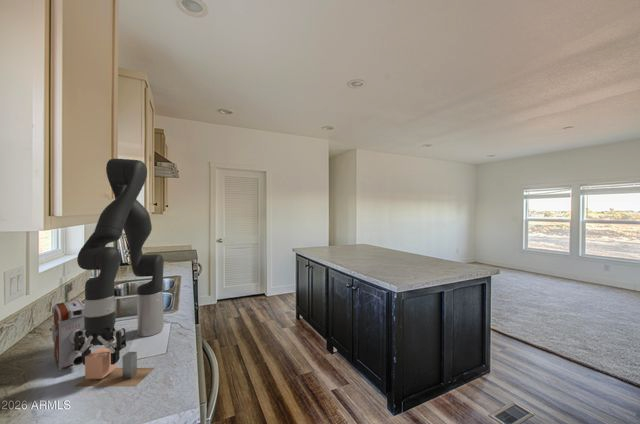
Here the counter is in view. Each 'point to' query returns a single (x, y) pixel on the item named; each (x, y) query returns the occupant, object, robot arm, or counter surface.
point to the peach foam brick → (98, 364)
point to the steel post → (129, 365)
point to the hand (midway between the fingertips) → (100, 363)
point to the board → (117, 378)
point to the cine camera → (67, 332)
